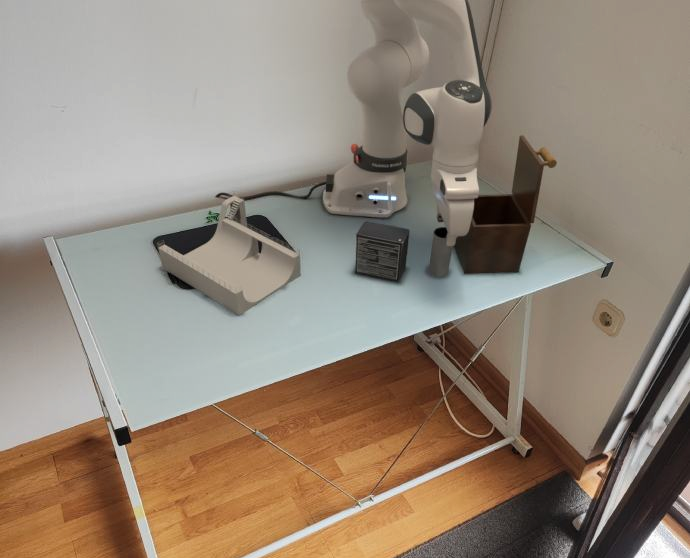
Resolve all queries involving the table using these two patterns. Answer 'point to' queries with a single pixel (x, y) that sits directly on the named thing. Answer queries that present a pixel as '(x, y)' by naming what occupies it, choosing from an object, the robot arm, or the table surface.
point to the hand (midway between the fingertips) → (445, 232)
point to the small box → (381, 251)
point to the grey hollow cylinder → (439, 253)
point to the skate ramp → (234, 262)
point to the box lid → (529, 176)
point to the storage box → (494, 236)
